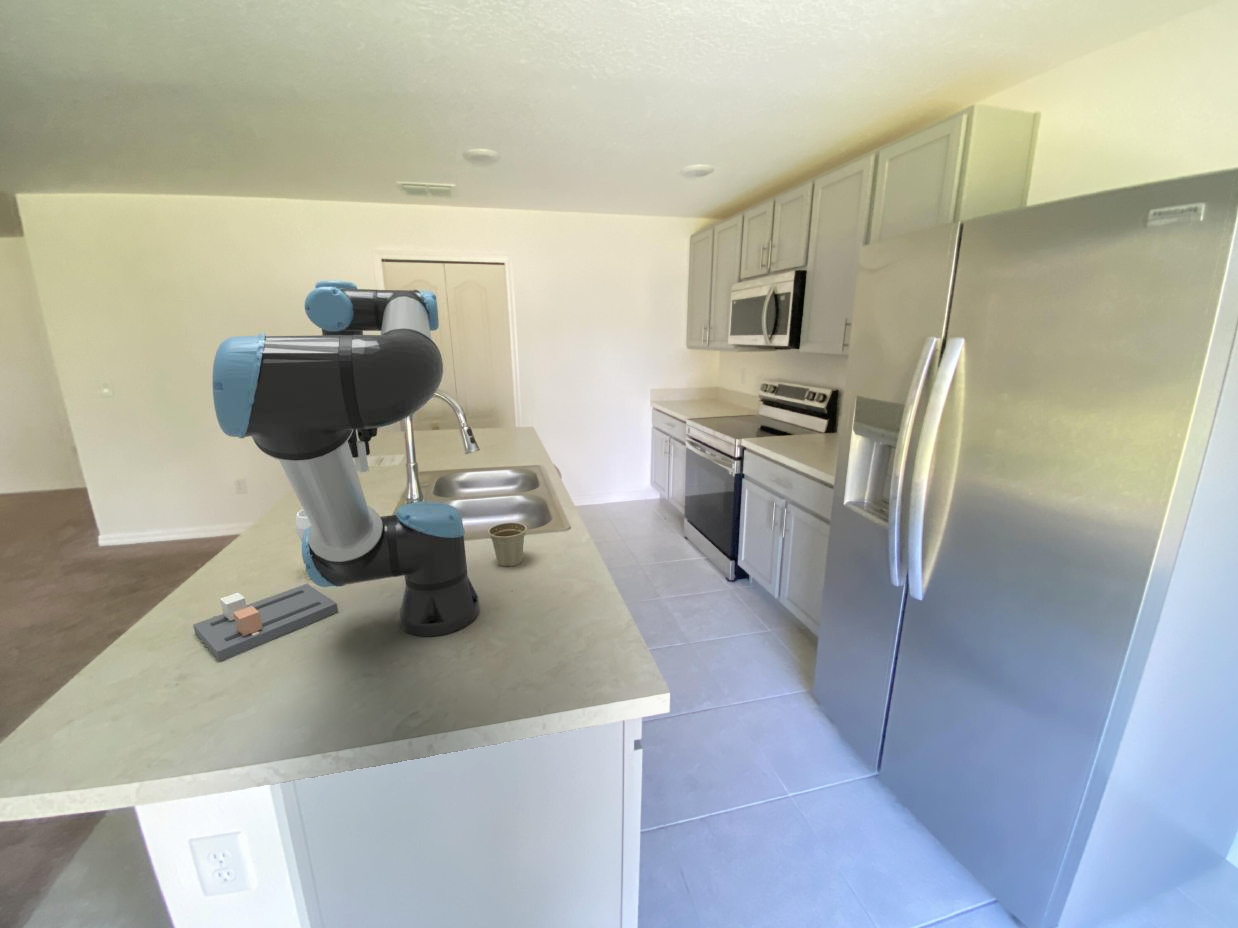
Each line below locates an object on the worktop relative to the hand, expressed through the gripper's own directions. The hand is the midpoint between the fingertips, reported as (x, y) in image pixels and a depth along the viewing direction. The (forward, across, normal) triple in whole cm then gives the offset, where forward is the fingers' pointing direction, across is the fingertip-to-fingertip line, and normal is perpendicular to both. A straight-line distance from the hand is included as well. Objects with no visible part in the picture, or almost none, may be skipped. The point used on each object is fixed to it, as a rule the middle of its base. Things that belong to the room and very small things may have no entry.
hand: (362, 470), depth 109 cm
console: (+26, +22, 0) cm, 34 cm away
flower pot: (+27, -25, +17) cm, 40 cm away
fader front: (+24, +26, +4) cm, 36 cm away
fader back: (+24, +26, -4) cm, 36 cm away
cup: (+27, +4, -15) cm, 31 cm away
